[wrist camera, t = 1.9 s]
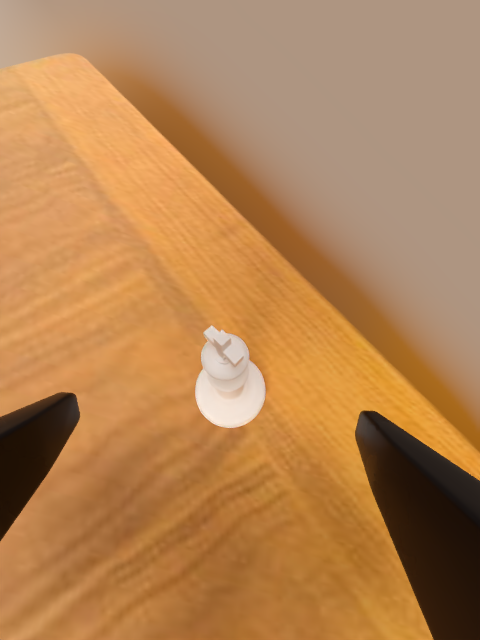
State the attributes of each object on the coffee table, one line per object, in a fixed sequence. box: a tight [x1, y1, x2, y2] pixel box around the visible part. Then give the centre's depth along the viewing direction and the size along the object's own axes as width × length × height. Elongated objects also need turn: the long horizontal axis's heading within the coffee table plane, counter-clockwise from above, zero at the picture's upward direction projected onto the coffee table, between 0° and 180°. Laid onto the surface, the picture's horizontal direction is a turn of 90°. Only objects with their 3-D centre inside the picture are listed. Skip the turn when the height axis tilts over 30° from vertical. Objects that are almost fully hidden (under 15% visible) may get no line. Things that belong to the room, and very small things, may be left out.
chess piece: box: [195, 326, 266, 428], centre depth 13 cm, size 5×5×10 cm
